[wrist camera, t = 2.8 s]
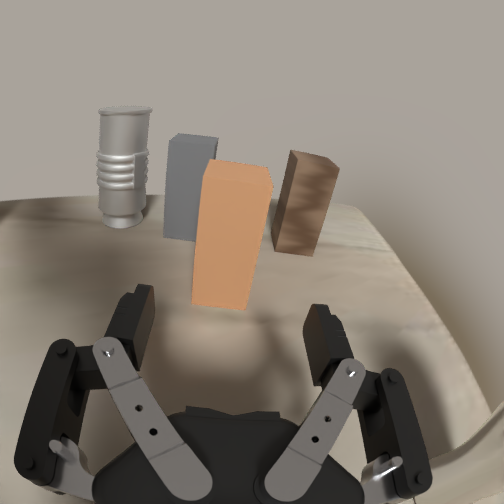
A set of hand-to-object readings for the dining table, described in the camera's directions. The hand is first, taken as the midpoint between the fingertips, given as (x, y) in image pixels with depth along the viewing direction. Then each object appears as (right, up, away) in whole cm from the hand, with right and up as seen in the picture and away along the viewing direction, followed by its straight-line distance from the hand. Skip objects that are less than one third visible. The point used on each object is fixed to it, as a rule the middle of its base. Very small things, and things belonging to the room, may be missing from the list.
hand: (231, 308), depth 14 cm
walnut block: (+6, +4, +24) cm, 26 cm away
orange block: (-2, -1, +14) cm, 14 cm away
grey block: (-8, +6, +23) cm, 25 cm away
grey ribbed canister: (-17, +7, +22) cm, 29 cm away
